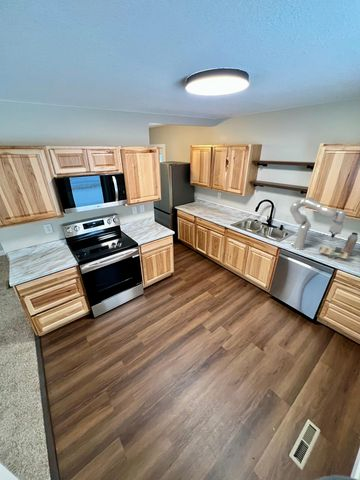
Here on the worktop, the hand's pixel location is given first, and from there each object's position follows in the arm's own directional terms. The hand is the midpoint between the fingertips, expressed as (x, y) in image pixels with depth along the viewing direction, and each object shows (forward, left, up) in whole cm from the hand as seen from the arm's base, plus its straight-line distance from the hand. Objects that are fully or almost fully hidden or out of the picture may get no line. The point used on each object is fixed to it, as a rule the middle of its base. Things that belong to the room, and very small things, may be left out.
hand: (332, 237), depth 213 cm
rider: (+9, 0, -18) cm, 20 cm away
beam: (+5, 0, -24) cm, 25 cm away
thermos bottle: (+18, +15, -24) cm, 34 cm away
